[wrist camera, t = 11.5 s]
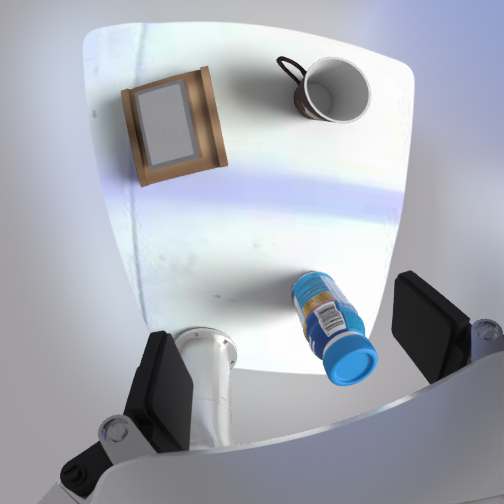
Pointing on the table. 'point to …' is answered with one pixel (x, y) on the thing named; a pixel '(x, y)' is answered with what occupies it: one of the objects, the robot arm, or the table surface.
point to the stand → (204, 122)
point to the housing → (168, 124)
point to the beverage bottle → (333, 329)
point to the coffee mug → (330, 90)
